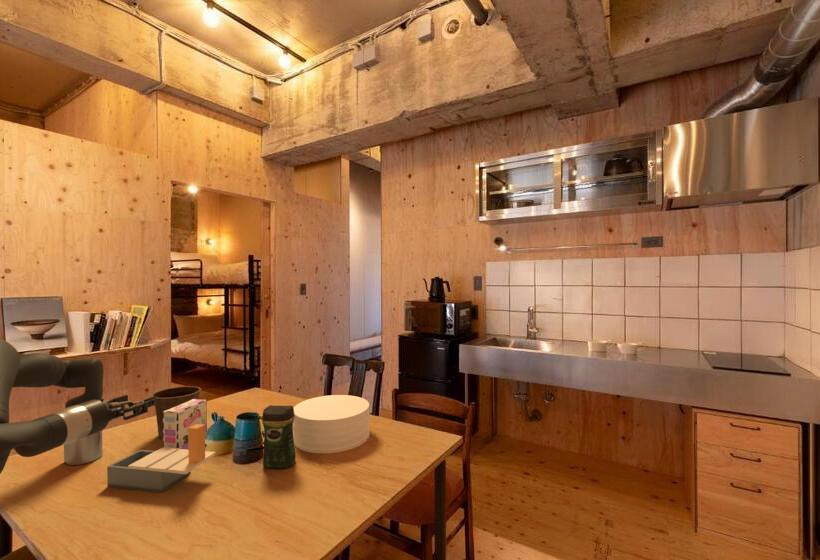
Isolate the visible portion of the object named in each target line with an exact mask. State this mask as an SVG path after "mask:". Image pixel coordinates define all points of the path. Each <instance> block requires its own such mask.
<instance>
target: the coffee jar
mask: <svg viewBox="0 0 820 560" xmlns="http://www.w3.org/2000/svg"><path fill="white" fill-rule="evenodd" d="M294 418H295V414H294V406H293V405H268V406H267V407H265V408H264V409H263V411H262V417H261V422H262V426H263V430H264V448H263V455H262V457H263V458H262V465H263V468H266V469H286V468H288V467H290V466H292V465H293V464H294V462H295V461H296V448H295V447H296V446H295V445H294V438H293V421H294Z"/></svg>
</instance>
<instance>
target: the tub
mask: <svg viewBox="0 0 820 560" xmlns="http://www.w3.org/2000/svg"><path fill="white" fill-rule="evenodd" d="M155 451H156V450H147V449H139V450H138V451H136V452H133V453H131V454H129V455H127V456H125V457H124V458H122V459H121V458H120V460H117V461H115V462H113V463H112V464H109V465H107V468H106V472H107V473H106V474H107V479H106V480H107V487H108V488H116V489H124V490H125V489H126V490H135V491H144V492H151V493H153V492H154V493H163V492H164V491H166V490H168V489H169V488H170V487H172V486H174V485H175V484H176V483H178V482H179V481H181V480H183V479H184V478H186V477H187V476H189V475H190V474H191V471H190V472H189V473H187V474H179V473H169V472H159V471H149V470H139V469H129V468H128V465H130V464H132V463H134V462H136V461H138V460H140V459H142V458H143V457H145V456H147V455H149V454H151V453H153V452H155Z"/></svg>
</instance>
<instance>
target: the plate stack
mask: <svg viewBox="0 0 820 560" xmlns="http://www.w3.org/2000/svg"><path fill="white" fill-rule="evenodd" d="M293 408H294V414H295V418H294V421H293V438H294V446H295V447H296V448H297V449H298V448H299V449H298V450H300V451H304V452H307V453H312V454H335V453H341V452H345V451H349V450H352V449H355V448H357V447H359V446H362V445H363V444H365V443H366V442H367V441H368V440H369V438H370V433H371V431H370V426H371V425H370V402H369V401H368V400H367V399H366V398H363V397H361V396H360V397H359V396H357V395H356V396H355V395H348V394H331V395H322V396H316V397H312V398H308V399H306V400H303V401H301V402H299V403H297V404H296V405H294V406H293ZM367 439H368V440H367Z"/></svg>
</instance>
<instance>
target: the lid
mask: <svg viewBox="0 0 820 560" xmlns="http://www.w3.org/2000/svg"><path fill="white" fill-rule="evenodd" d="M154 451H155V452H153V453H151V454H149V455H147V456H145V457H143V458H142V459H140V460H138V461H136V462H134V463H132V464H130V465H128V468H129V469H139V470H149V471H159V472H169V473H179V474H187V473H189V472H190V471H193V470H195V469H196V468H198V467H200V466H201V465H202V464H204V463H205V462H207V461H209V460H210V459H212V458H213V457H215V456H216V451H206V445H205V425H202V424H195V425H193V426H191V427H189V428H188V450H186V449H180V448H178V449H174V448H163V446H162V447H161V448H159V449H157V450H154Z"/></svg>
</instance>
